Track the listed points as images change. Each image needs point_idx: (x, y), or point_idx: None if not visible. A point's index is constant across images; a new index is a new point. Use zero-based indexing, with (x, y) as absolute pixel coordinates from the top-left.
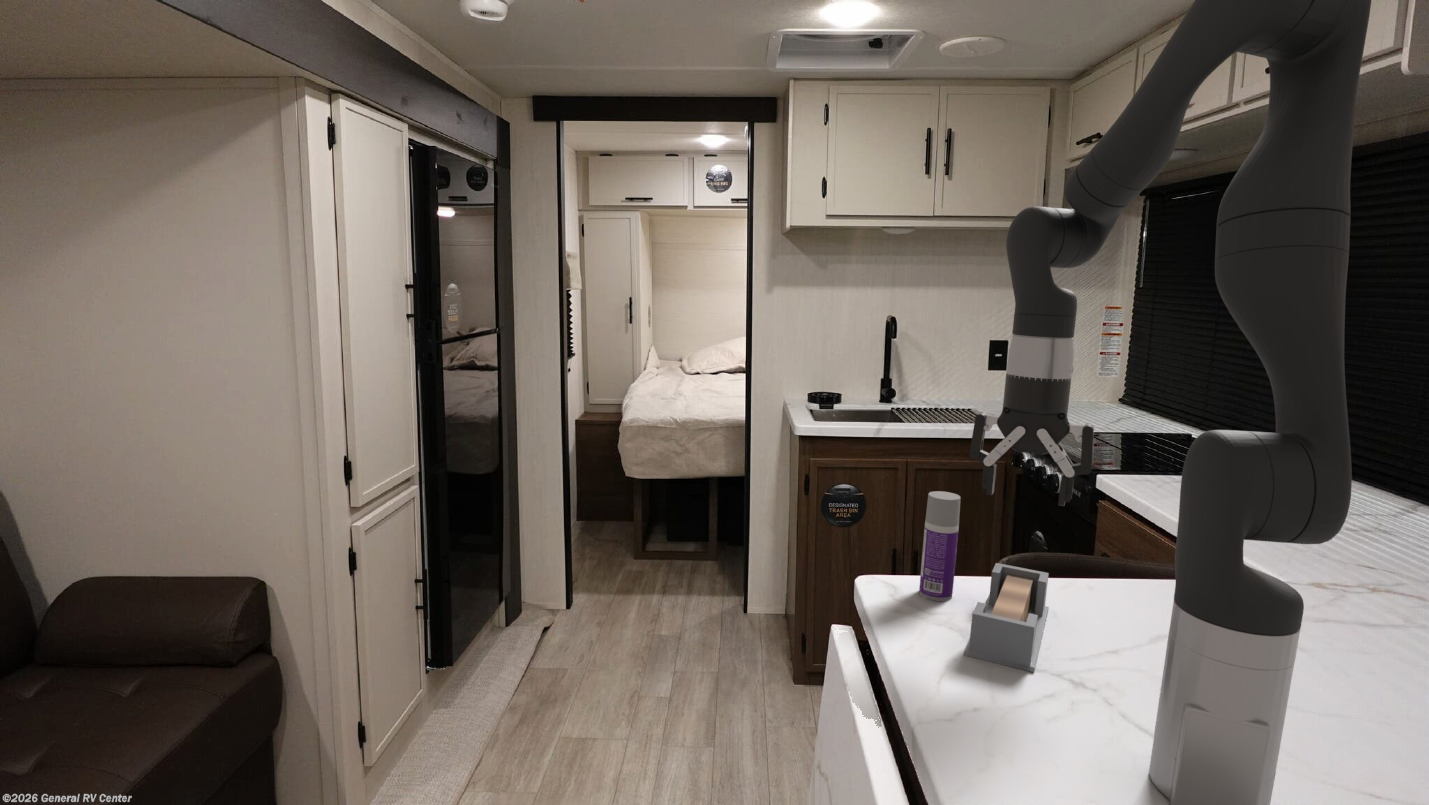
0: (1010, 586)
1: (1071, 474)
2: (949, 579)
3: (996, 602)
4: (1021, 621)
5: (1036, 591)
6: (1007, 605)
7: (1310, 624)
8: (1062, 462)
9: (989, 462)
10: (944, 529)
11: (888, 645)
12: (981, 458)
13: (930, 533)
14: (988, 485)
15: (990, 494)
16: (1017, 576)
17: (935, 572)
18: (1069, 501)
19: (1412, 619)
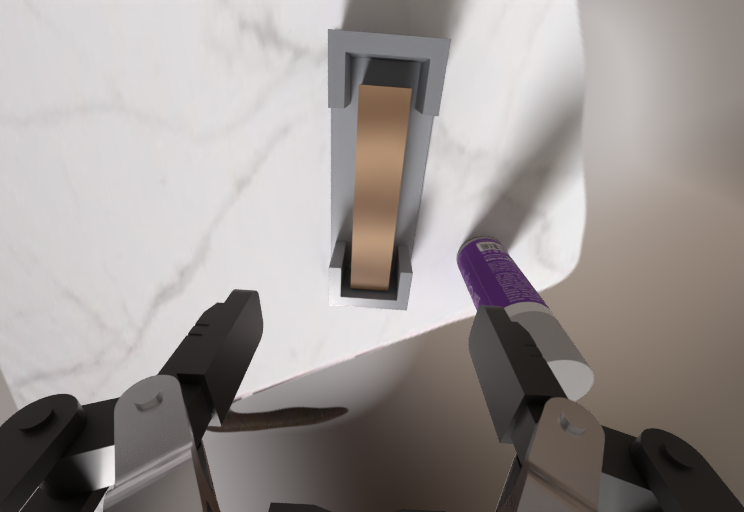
0: (381, 246)
1: (143, 389)
2: (471, 261)
3: (402, 164)
4: (354, 50)
5: (345, 280)
6: (383, 160)
7: (82, 356)
8: (156, 456)
9: (568, 414)
10: (521, 307)
11: (573, 15)
12: (608, 445)
13: (542, 301)
14: (507, 326)
15: (484, 306)
16: (373, 292)
17: (499, 257)
18: (215, 305)
19: (18, 400)
